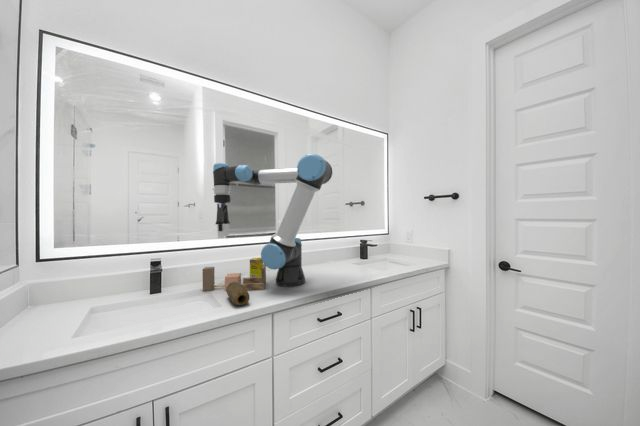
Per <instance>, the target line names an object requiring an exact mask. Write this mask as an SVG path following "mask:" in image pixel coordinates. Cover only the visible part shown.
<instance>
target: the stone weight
mask: <svg viewBox="0 0 640 426" xmlns="http://www.w3.org/2000/svg"><path fill="white" fill-rule="evenodd" d="M241 284H242V283H241ZM241 284H240V283H238V282H232V283H230V284H229V285H228V286H227V290H226V294H227V296H228V298H229V300H230V301H231V302H232V303H233V304H234V305H236V306H244V305H246V304H247V303H249V301H250V294H249V291H247V290H246V289H245V288H244V287H243V286H242V285H241Z"/></svg>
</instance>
